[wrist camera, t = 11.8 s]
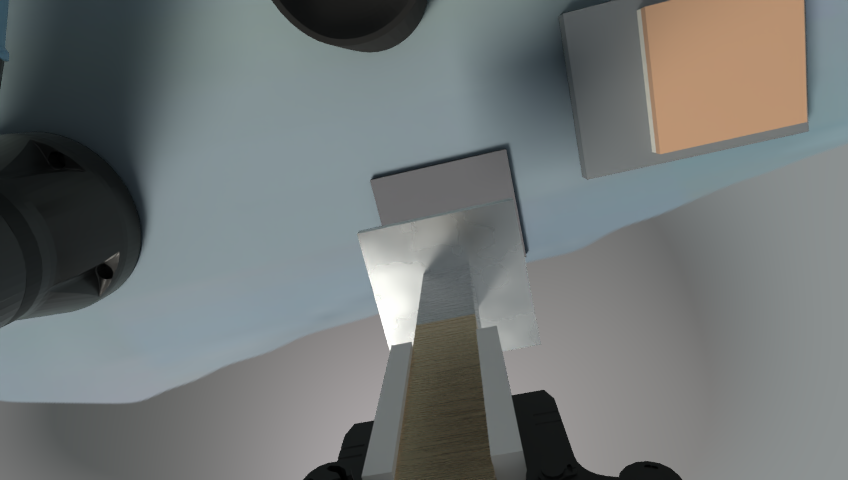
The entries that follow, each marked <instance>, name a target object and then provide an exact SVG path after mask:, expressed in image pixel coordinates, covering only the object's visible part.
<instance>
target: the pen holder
mask: <svg viewBox="0 0 848 480" xmlns="http://www.w3.org/2000/svg"><path fill="white" fill-rule="evenodd" d="M272 1H273V3H274V4H275V5H276V7H277V8H278V9H279V11H280V12H281V13H282V14H283V15H284V16H285V17H286V18H287V19H288V20H289V21H290V22H291V23H292V24H293V25H294V26H295V27H297V28H298V29H299V30H301V31H302V32H304V33H305V34H306V35H308V36H310V37H312V38H314V39H316V40H318V41H320V42H323V43H326V44H330V45H334V46H338V47H342V48H346V49H350V50H355V51H360V52H379V51H383V50H387V49H390V48H392V47H394V46H396V45H398V44H400V43H401V42H402V41H404V40H405V39H406V38H407V37H408V36H409V35H410V34H411V33H412V32H413V31H414V30H415V28H416V27H417V25H418V24H419V22H420V20H421V18H422V16H423V14H424V11H425V8H426V4H427V0H272Z"/></svg>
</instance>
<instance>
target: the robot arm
mask: <svg viewBox="0 0 848 480" xmlns="http://www.w3.org/2000/svg"><path fill="white" fill-rule="evenodd" d="M8 4H9V0H0V87H1V81H2V74H3V68H4V62H5V61H9V52H8V51H7V49H6V48H5V41H6V29H7V16H8ZM140 244H141V230H140V222H139V217H138V213H137V210H136V207H135V204H134V202H133V200H132V197H131V195H130V193H129V191H128V190H127V188H126V186H125V185H124V183H123V182H122V180H121V179H120V177H119V176H118V175H117V174H116V172H115V171H114V170H113V169H112V168H111V167H110V166H109V165H108V164H107V163H106V162H105V161H104V160H103V159H102V158H100V157H99V156H98V155H97V154H95V153H94V152H93V151H91V150H90V149H88V148H86V147H85V146H83V145H81V144H79V143H77V142H75V141H73V140H71V139H68V138H65V137H63V136H59V135H55V134H51V133H44V132H23V133H12V134H3V135H0V328H1V327H3V326H5V325H7V324H9V323H11V322H13V321H15V320H22V319H28V318H35V317H41V316H48V315H54V314H61V313H67V312H72V311H76V310H79V309H82V308H85V307H88V306H90V305H92V304H94V303H96V302H98V301H99V300H101V299H103V298H104V297H106V296H108V295H110V294H111V293H113V292H114V291H116V290H117V289H118V288H119V287H120V286H121V285H122V284H123V283H124V282H125V281H126V280H127V279H128V277H129V276H130V274H131V273H132V271H133V269H134V267H135V265H136V262H137V259H138V256H139V251H140ZM476 334H477V342H478V351H479V360H480V368H481V377H482V386H483V395H484V403H485V412H486V421H487V429H488V438H489V447H490V456H491V460H492V464H493V466H494V470H495V474H496V479H497V480H682V479H681V478H680V476H679V475H678V474H677V473H675V472H674V471H673V470H672V469H671V468H669V467H667V466H664V465H662V464H660V463H655V462H649V461H644V462H635V463H633V464H631V465H628V466H626V467H625V468H624V469H623V470H622V471H621V472H620V475H619V477H611V476H604V475H598V474H595V473H593V472H590V471H588V470H586V469H585V468H583V467H582V466H581V465H580V464H579V463H578V462H577V461H576V459H575V457H574V454H573V451H572V448H571V446H570V443H569V440H568V437H567V434H566V431H565V428H564V425H563V423H562V420H561V417H560V414H559V412H558V408H557V405H556V403H555V400H554V398H553V397H552V396H550V395H549V394H548V393H547V392H546V391H545V390H540V391H535V392H529V393H524V394H517V395H511V390H510V385H509V381H508V376H507V372H506V367H505V362H504V358H503V353H502V348H501V343H500V338H499V334H498V329H497V326H491V327H486V328H481V329H476ZM412 351H413V345H412V342H407V343H402V344H397V345H392V346H391V350H390V355H389V359H388V364H387V368H386V372H385V376H384V381H383V385H382V390H381V394H380V398H379V403H378V407H377V411H376V415H375V420H374V421H369V422H363V423H358V424H354V425H353V427H352V428H351V429H350V430H349V431H348V433H347V434H346V435H345V437H344V440H343V443H342V447H341V451H340V453H339V457H338V461H337V462H332V463H327V464H324V465H322V466H319V467H317V468H316V469H314V470H313V471H311V472H310V473H309V474H308V475H307V476H306V477H305V478H304V479H303V480H394V478H395V471H396V464H397V457H398V450H399V443H400V436H401V429H402V422H403V415H404V408H405V401H406V394H407V387H408V380H409V373H410V366H411V358H412Z"/></svg>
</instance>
